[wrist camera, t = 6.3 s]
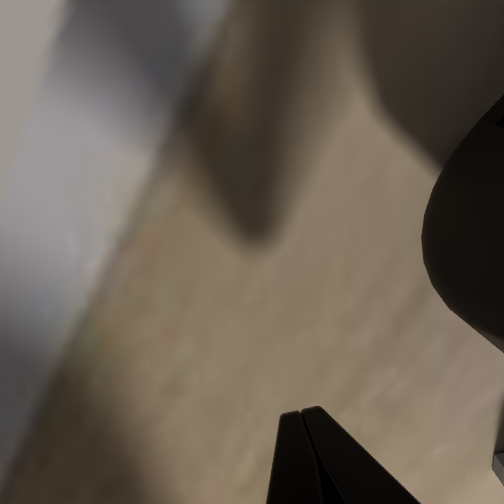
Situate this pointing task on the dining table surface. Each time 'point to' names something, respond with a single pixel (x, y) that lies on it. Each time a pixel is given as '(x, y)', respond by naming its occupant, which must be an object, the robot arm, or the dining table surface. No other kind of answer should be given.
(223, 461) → the dining table surface
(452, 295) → the end cap
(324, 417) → the robot arm
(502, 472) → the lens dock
